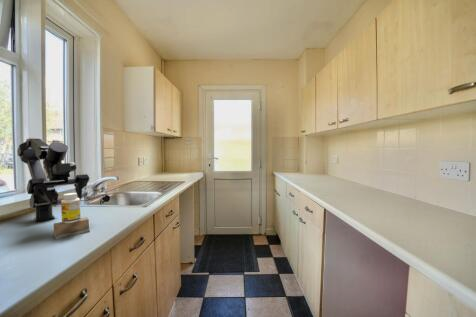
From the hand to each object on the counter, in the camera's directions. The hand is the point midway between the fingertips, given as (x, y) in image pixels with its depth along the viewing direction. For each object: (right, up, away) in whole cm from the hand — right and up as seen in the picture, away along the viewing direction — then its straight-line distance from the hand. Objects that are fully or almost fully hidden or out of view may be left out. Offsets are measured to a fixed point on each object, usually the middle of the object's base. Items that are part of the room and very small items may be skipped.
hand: (66, 200), depth 85 cm
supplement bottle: (+3, -8, -2) cm, 8 cm away
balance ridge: (+3, -12, -2) cm, 12 cm away
